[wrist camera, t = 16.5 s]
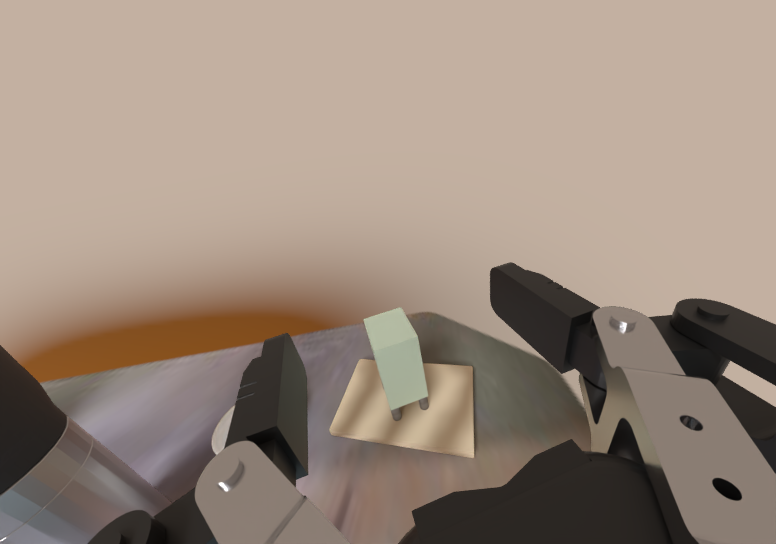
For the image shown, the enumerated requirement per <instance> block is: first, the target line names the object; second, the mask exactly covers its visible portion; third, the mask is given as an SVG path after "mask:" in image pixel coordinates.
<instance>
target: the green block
mask: <svg viewBox="0 0 776 544" xmlns="http://www.w3.org/2000/svg"><path fill="white" fill-rule="evenodd" d="M363 320H364V323H365V327H366V330H367V334H368V337H369V340H370V344H371V347H372V351H373V354H374V357H375V361H376V364H377V368H378V371H379V375H380V378H381V381H382V384H383V387H384V390H385V393H386V397H387V400H388V403H389V406H390V409H391V410H393V409H396V408H399V407H401V406H404V405H407V404H409V403H412V402H414V401H417V400H420V399H422V398H425V397H427V396H428V391H427V385H426V380H425V374H424V368H423V363H422V357H421V352H420V346H419V341H418V336H417V334H416V333H415V331H414V329H413V327H412V326H411V324H410V322H409V320H408V319H407V317H406V315H405V313H404V312H403V310H402V308H401V307H400V308H397V309H394V310H391V311H388V312H384V313H381V314H378V315H375V316H372V317H369V318H366V319H363Z"/></svg>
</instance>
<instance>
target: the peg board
mask: <svg viewBox="0 0 776 544" xmlns="http://www.w3.org/2000/svg"><path fill="white" fill-rule="evenodd" d="M423 368H424V374H425V380H426V385H427V391H428V396H427V397H425V398H422V399H420V400H417V401H414V402H412V403H409V404H407V405H404V406H401V407H399V408H396V409H393V410H391V409H390V406H389V403H388V400H387V397H386V393H385V390H384V387H383V384H382V381H381V378H380V375H379V371H378V368H377V364H376V361H375V360H366V359H359V362H358V364H357V366H356V369H355V371H354V373H353V376H352V378H351V380H350V383H349V385H348V387H347V390H346V392H345V394H344V397H343V399H342V401H341V404H340V406H339V408H338V411H337V413H336V415H335V418H334V420H333V422H332V425H331V427H330V429H329V431H330V433H331V435H333V436H339V437H345V438H352V439H358V440H364V441H370V442H376V443H383V444H389V445H395V446H401V447H407V448H414V449H420V450H426V451H432V452H438V453H445V454H451V455H457V456H463V457H469V458H474V413H473V366H461V365H445V364H429V363H423Z"/></svg>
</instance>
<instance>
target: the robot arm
mask: <svg viewBox="0 0 776 544" xmlns="http://www.w3.org/2000/svg"><path fill="white" fill-rule="evenodd" d="M490 301H491V306H492V308H493V310H494V311H495V313H496V314H497V315H498V316H499V317H500V318H501V319H502V320H503V321H504V322H505V323H506V324H508V325H509V326H510V327H511V328H512V329H513V330H514V331H515V332H516V333H517V334H519V335H520V336H521V337H522V338H523V339H524V340H525V341H526V342H527V343H529V344H530V345H531V346H532V347H533V348H534V349H535V350H536V351H537V352H538V353H539V354H541V355H542V356H543V357H544V358H545V359H546V360H547V361H548V362H549V363H550V364H551V365H553V366H554V367H555V368H556V369H557V370H558V371H559V372H560V373H561V374H563V373H565V372H567V371H570V370H573V369H576V370H578V371H579V372H580V375H579V383H580V387H581V392H582V396H583V400H584V405H585V409H586V413H587V418H588V422H589V427H590V431H591V452H587V451H582V450H581V449H580V448H579V447H578V446H577V445H576V443H575V442H574V441H573V440H572V439H571V440H568V441H566V442H564V443H562V444H560V445H557V446H555V447H553V448H551V449H548V450H546V451H544V452H542V453H540V454H537V455H535V456H534V457H533V458H532V459H531V460H530V461H529V462H528V463H527V464H526V465H525V466H524V467H523V468H522V469H521V470H520V471H519V472H518V473H517V474H516V475H515V476H514V477H513V478H512V479H511V480H510V481H509V482H508V483H507V484H505V485H504V486H502V487H497V488H487V489H478V490H468V491H459V492H453V493H451V494H448V495H446V496H444V497H442V498H439V499H437V500H435V501H433V502H431V503H428V504H426V505H424V506H422V507H419V508H417V509H415V510H413V511H412V515H413V518H414V521H415V526H414V527H413V528H412V529H411V530H410V531H409V532H407V533H406V535H405V536H404V537H403V538H402V540H401V541H400V542H399V543H398V544H776V407H774V406H772V405H771V404H769V403H768V402H766V401H764V400H763V399H761V398H759V397H757V396H756V395H754V394H753V393H751V392H749V391H748V390H746V389H744V388H743V387H741V386H739V385H738V384H736V383H734V382H733V381H731V380H729V379H728V378H726V377H725V376H723V375H722V374H723V373H724V371H725V369H726V367H727V366H728V364H729V362H730V361H732V362H734V363H736V364H738V365H739V366H741V367H743V368H745V369H747V370H748V371H750V372H752V373H754V374H756V375H757V376H759V377H761V378H763V379H765V380H767V381H768V382H770V383H772V384H774V385H775V386H776V325H775V324H773V323H770V322H768V321H765V320H763V319H761V318H759V317H756V316H753V315H751V314H749V313H747V312H744V311H742V310H740V309H737V308H734V307H732V306H730V305H727V304H724V303H721V302H717V301H712V300H706V299H685V300H682V301H679V302H678V303H677V305H676V307H675V309H674V312H673V314H672V315H667V316H655V317H647V316H645V315H643V314H642V313H640V312H637V311H634V310H632V309H628V308H624V307H616V306H609V307H602V308H600V307H598V306H596V305H595V304H593V303H591V302H589V301H588V300H586V299H584V298H582V297H580V296H579V295H577V294H575V293H573V292H572V291H570V290H568V289H566V288H563V287H562V286H561V285H559V284H558V283H556V282H553V281H552V280H551V279H549V278H547V277H545V276H544V275H541V274H539V273H535V272H532V271H528V270H524V269H522V268H521V267H519V266H517V265H516V264H514V263H507V264H503V265H500V266H497V267H494V268H492V269H491V271H490ZM237 399H238V400H237V401H236V404H235V408H234V412H233V416H232V420H231V423H230V427H229V431H228V435H227V439H226V443H225V447H224V449H223V450H222V451H221V452H219V453H218V454H217V455H216V456H215V457H214V458H213V459H212V460H211V461H210V462H209V464H208V465H207V466H206V467H205V469H204V470H203V472H202V474H201V476H200V477H199V480H198V482H197V485H196V487H195V488H194V489H192V490H191V491H190V492H188V493H187V494H185V495H184V496H182V497H181V498H180V499H178V500H177V501H175V502H174V503H172V502H170V501H169V500H168V499H167V498H166V497H165V496H163V495H162V494H161V493H160V492H159V491H157V490H156V489H155V488H154V487H153V486H152V485H151V484H149V483H148V482H147V481H146V480H145V479H143V478H142V477H141V476H140V475H139V474H137V473H136V472H135V471H134V470H132V469H131V468H130V467H129V466H128V465H126V464H125V463H124V462H123V461H122V460H120V459H119V458H118V457H117V456H116V455H114V454H113V453H112V452H111V451H110V450H108V449H107V448H106V447H105V446H103V445H102V444H101V443H100V442H99V441H97V440H96V439H95V438H94V437H93V436H91V435H90V434H89V433H87V432H86V431H85V430H84V429H83V428H81V427H80V426H79V425H78V424H77V423H75V422H74V421H73V420H72V419H70V418H69V417H68V416H67V415H65V414H64V413H63V412H62V411H61V410H60V409H58V408H57V407H56V406H55V405H54V404H53V402H52V401H51V399H50V398H49V396H48V395H47V393H46V392H45V390H44V389H43V387H42V386H41V385H40V383H39V382H38V381H37V380H36V379H35V378H34V377H33V376H32V375H31V374H30V373H29V372H28V371H27V370H26V369H25V368H23V367H22V366H21V365H20V364H19V363H18V362H17V361H16V360H15V359H14V358H13V357H12V356H11V355H10V354H9V353H8V352H7V351H6V350H5V349H4V348H3V347H2V346H1V345H0V544H350V542H349V541H348V540H347V539H346V538H345V537H344V536H343V535H342V534H341V533H340V532H339V531H338V530H337V528H336V527H335V526H334V525H333V524H332V523H331V522H330V521H329V520H328V519H327V518H326V517H325V516H324V514H323V513H322V512H321V511H320V510H319V509H318V508H317V507H316V506H315V505H314V504H313V503H312V502H311V501H310V500H309V499H308V498H307V497H306V496H303V495H302V494H301V493H300V492H299V491H298V490H297V489H296V480H297V479H299V478H302V477H304V476H306V475H308V430H307V377H306V372H305V368H304V365H303V362H302V360H301V358H300V356H299V354H298V352H297V350H296V348H295V345H294V343H293V341H292V339H291V337H290V335H289V334H288V333H285V334H282V335H279V336H276V337H273V338H270V339H267V340H265V341H264V345H263V350H262V355H261V357H258V358H255V359H253V360H252V361H251V363H250V364H249V365H248V367H247V368H246V370H245V371H244V373H243V377H242V381H241V384H240V389H239V392H238V396H237Z"/></svg>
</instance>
